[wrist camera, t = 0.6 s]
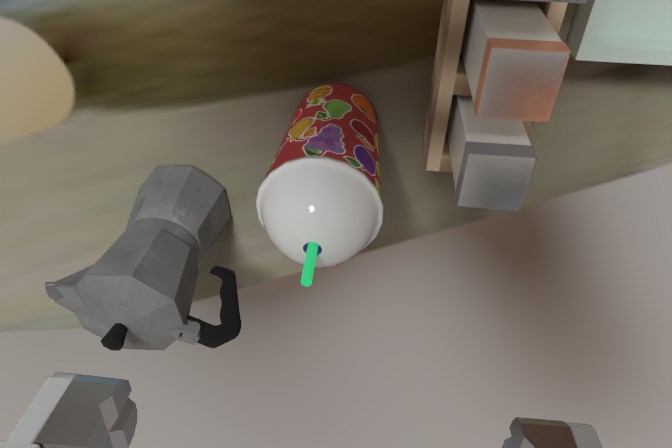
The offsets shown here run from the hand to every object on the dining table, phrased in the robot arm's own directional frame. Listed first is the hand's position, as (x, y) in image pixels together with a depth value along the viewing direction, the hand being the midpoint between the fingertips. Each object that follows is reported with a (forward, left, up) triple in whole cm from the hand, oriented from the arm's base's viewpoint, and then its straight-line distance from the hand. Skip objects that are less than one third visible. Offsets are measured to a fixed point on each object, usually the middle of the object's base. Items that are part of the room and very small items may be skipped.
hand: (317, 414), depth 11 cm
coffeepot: (+22, -16, -34) cm, 44 cm away
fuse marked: (+2, +9, -33) cm, 34 cm away
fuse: (+8, +9, -33) cm, 35 cm away
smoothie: (+11, -2, -34) cm, 36 cm away
